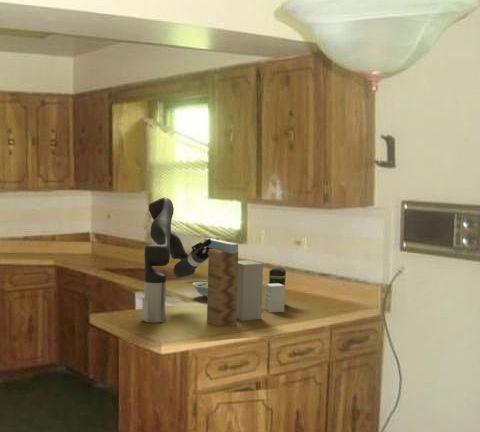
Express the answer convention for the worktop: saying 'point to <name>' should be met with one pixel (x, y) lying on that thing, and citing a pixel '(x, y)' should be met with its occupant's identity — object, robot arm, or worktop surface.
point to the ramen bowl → (201, 287)
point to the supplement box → (274, 297)
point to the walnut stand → (222, 288)
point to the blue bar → (223, 245)
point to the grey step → (249, 290)
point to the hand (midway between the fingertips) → (214, 240)
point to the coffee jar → (277, 276)
